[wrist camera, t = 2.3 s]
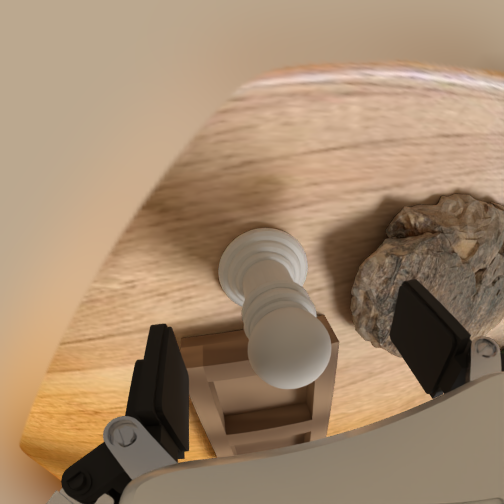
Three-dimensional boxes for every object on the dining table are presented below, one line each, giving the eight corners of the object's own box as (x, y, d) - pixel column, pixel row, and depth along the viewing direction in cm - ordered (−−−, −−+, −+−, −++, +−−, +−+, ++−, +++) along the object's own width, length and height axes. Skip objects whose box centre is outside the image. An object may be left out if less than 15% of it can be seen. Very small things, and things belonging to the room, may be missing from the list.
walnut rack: (314, 442, 28) (320, 463, 26) (226, 458, 28) (229, 480, 25) (324, 314, 20) (339, 341, 18) (181, 338, 20) (179, 369, 17)
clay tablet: (307, 340, 22) (468, 336, 25) (327, 386, 17) (493, 362, 21) (364, 149, 17) (518, 215, 20) (410, 158, 12) (552, 232, 16)
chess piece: (200, 278, 18) (199, 396, 10) (253, 207, 17) (297, 292, 8) (269, 316, 20) (303, 428, 12) (321, 255, 18) (393, 351, 10)
